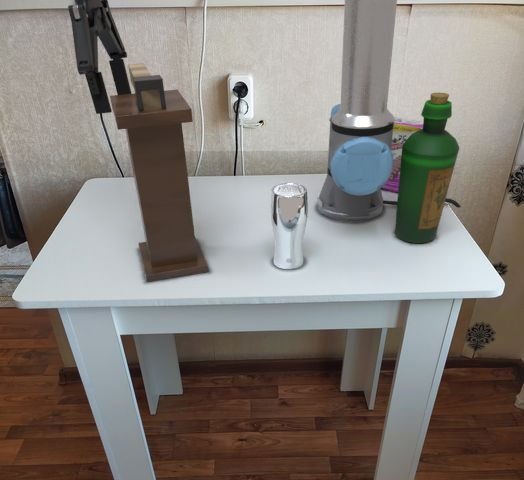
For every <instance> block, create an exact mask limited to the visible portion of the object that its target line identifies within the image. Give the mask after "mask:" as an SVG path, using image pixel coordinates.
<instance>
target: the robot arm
mask: <svg viewBox="0 0 524 480" xmlns="http://www.w3.org/2000/svg"><path fill="white" fill-rule="evenodd" d="M74 3H75V4H71V5H68V6H67V10H68V14H69V18H70V22H71V30H72V37H73V45H74V53H75V61H76V69H77V73H78V74H79V75H84V76H85V79H86V82H87V87H88V89H89V93H90V96H91V100H92V103H93V107H94V110H95V114H96V115H99V114H109V113H113V109H112V105H111V102H110V100H109V96H108V91H107V89H106V85H105V84H106V83H105V81H104V77H103V74H102V71H99V47H98V46H99V45H98V44H99V43H98V42H99V41H98V40H100V43H101V45H102V46H103V48H104V49H105V52H106V53H107V55H108V57H109V59H110V60H108V63H109V67H110V71H111V75H112V79H113V83H114V87H115V90H116V95H124V94H133V92H132V89H131V85H130V81H129V77H128V73H127V69H126V64H125V61H124V59H126V58H128V52H127V51H126V48H125V46H124V43H123V40H122V38H121V35H120V32H119V30H118V27H117V25H116V22H115V20H114V17H113V14H112V12H111V8H110V5H109V1H108V0H74ZM397 5H398V0H344V11H343V30H342V31H343V33H342V59H341V81H340V83H341V84H340V103H338V104H335V105H334V106H333V107H332V108H331V110H330V117H329V135H328V152H327V153H328V154H327V172H326V178H325V180H324V182H323V185H322V187H321V190H320V193H319V195H318V197H317V200H316V203H317V210H318V211H319V213H320V214H322V215H323V216H325V217H327V218H329V219H333V220H336V221H342V222H363V221H368V220H371V219H374V218H376V217H378V216H379V215H381V214H382V212H383V207H384V205H387V206H388V205H389V206H397V201H398V200H384V198H383V193H382V189H381V187H382V186H383V185H384V184H385V183H386V182H387V181H388V179H389V177H390V175H391V173H392V168H393V163H394V160H393V154H392V152H391V146H392V136H393V126H394V117H395V116H394V115H393V114H392V113H391V110H389V109H388V101H389V92H390V91H389V90H390V81H391V79H390V78H391V68H392V59H393V58H392V57H393V49H394V48H393V47H394V37H395V29H396V28H395V26H396V17H397ZM445 203H448V204H452V205H453V206H455V208H462V206H461V205H460V204H459V202H457V200H454V199H452V198H447V197H446V199H445Z"/></svg>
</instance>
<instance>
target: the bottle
mask: <svg viewBox="0 0 524 480" xmlns="http://www.w3.org/2000/svg"><path fill="white" fill-rule="evenodd" d="M449 97H450V94H449V93H446V92H439V91H438V92H432V93H430V99H427V100H426V101H425V102H424V105H423V108H422V111H421V113H420V115H421V117H422V118H423V119H422V120H423V121H422V122H423V129H420V130H418V131H416V132H414V133H413V134H411V135H410V137H409V138H408V139H407V140H406V141H405V143H404V144H403V145H402V155H401V167H400V178H399V189H398V193H397V200H396V201H397V205H396V214H395V223H394V224H395V225H394V234H395V235H396V237H397V238H399V239H401V240H402V241H405V242H407V243H412V244H424V243H429V242H431V241H433V240H434V239H435V238H436V236H437V233H438V228H439V225H440V221H441V217H442V215H443V210H444V207H445V204H446V202H445V199H446V198H447V195H448V192H449V188H450V185H451V184H450V183H451V180H452V177H453V173H454V169H455V166H456V162H457V158H458V155H459V151H460V146H459V143H458V141H457V139H456V138H455V137H454V136H453V135H452V133H450V132H449V131H447V130H446V126H447V123H448V120H449V119H451V117H452V116H453V114H452V113H453V111H452V109H453V106H452V105H453V104H452V101H450V100H449Z"/></svg>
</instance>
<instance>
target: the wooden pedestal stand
mask: <svg viewBox="0 0 524 480" xmlns="http://www.w3.org/2000/svg"><path fill="white" fill-rule="evenodd" d="M164 93H165V101H166V109H158V110H148V111H139V110H138V107H137V103H136V97H135V92H134V93H132V94H124V95H117V94H115V95H113V94H112V95H109V98H110V105H111V110H112V113H113V116H114V120H115V123H116V128H117V130H118V131H119V130H125V135H126V142H127V147H128V152H129V157H130V164H131V168H132V174H133V180H134V185H135V190H136V191H135V192H136V195H137V196H136V197H137V202H138V208H139V213H140V218H141V223H142V229H143V235H144V240H145V241H141V242H138V243H137V244H138V249H139V254H140V257H141V262H142V266H143V267H142V268H143V271H144V275H145V280H146V283H150V282H154V281H161V280H168V279H173V278H179V277H187V276H191V275H197V274H203V273H208V272H209V265H208V263H207V261H206V259H205V256H204V254H203V251H202V249H201V247H200V245H199V242H198V239H197V237H196V236H195V227H194V218H193V210H192V201H191V192H190V185H189V175H188V167H187V159H186V158H187V156H186V149H185V138H184V130H183V124H184V123H185V124H186V123H193V122H194V120H193V110H192V108H191V106H190V105H189V103H188V101H186V100H185V97H183V95H182V94H181V92H180V91H179V89H169V90H167V89H166V90H164Z"/></svg>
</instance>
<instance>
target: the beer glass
mask: <svg viewBox="0 0 524 480" xmlns="http://www.w3.org/2000/svg"><path fill="white" fill-rule="evenodd" d="M308 203H309V202H308V188H307V187H306V185H304V184H300V183H297V182H284V183H279V184H276V185H274V186H273V187H272V188H271V196H270V222H271V227H272V232H273V236H274V237H273V238H274V254H273V261H272V262H273V264H274V266H275V267H277V268H279V269H281V270H282V269H283V270H295V269H298V268H301V267H302V266H303V265H304V262H305V259H304V254H303V253H304V252H303V241H304V237H305V232H306V227H307V222H308V212H309V211H308V210H309V208H308V206H309V205H308Z"/></svg>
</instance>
